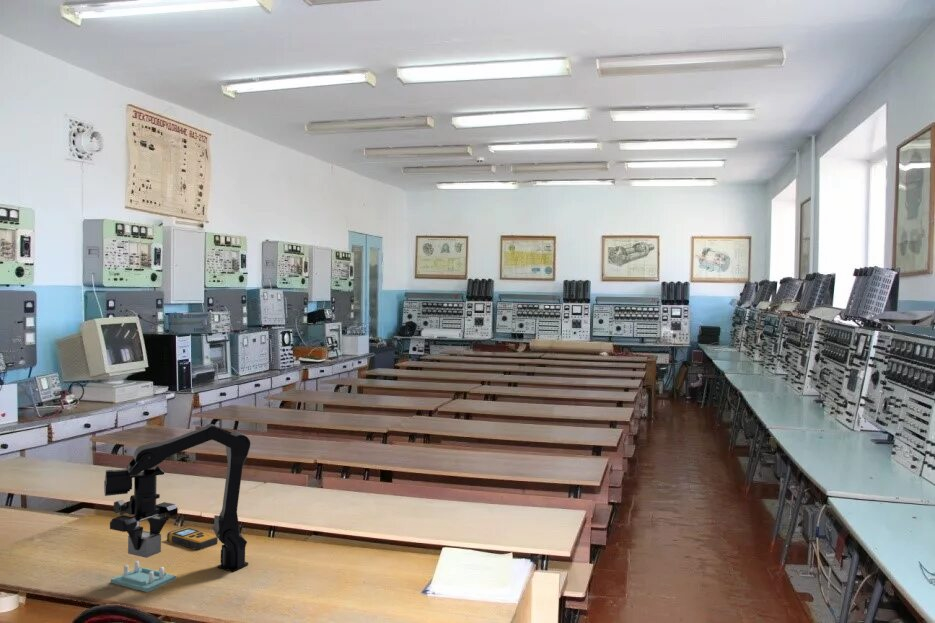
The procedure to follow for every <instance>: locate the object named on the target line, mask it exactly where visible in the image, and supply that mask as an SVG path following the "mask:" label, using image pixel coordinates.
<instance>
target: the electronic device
mask: <svg viewBox="0 0 935 623" xmlns="http://www.w3.org/2000/svg"><path fill="white" fill-rule="evenodd" d="M166 537H167V538H166V539H167V541H168V542H171V543H173V544H177V545H180V546H183V547H186V548H189V547H190V549H192V548H194V549H193V550H197V551H199V550H200V549H201V550H204V549H206V548H209V547H212V546H216V545H217V544H218V540H219V539H218V537H217V536H216V534H211V533H209V532H206V531H205V532H204V531H201V530H197V529H193V528H190V527H181V528H178V529H175V530H172V531H169V532H167V535H166Z"/></svg>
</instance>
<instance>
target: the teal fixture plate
mask: <svg viewBox="0 0 935 623" xmlns="http://www.w3.org/2000/svg"><path fill="white" fill-rule="evenodd" d="M133 566H134V567H133V568H134V569H132V570H129V568H130V567H129V565H128V564H124V565H123V573H122V574H119V575H117V576H115V577H113V578H110V583H111V584H115V585H118V586H122V587H126V588H130V589H133V590H137V591H142V592H144V593H145V592H146V593H149V592H151V591H153V590H156V589H158V588H160V587H163V586H165V585H167V584H169V583H172V582H174V581H177V575H174V574H170V573H167V572H165V567H164V566H160V567H159V570H157V569H152V568H148V567H145V566H144V567H141V566H140V561H139V560H136V561H134V565H133Z"/></svg>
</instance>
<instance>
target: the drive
mask: <svg viewBox="0 0 935 623" xmlns="http://www.w3.org/2000/svg"><path fill="white" fill-rule="evenodd" d="M127 541H128V542H127V547H128V548H127V553H128V555H133V556H137V557H141V558H146V559H147V558H149V557H152V556H154V555H156V554H159V553H162V534H161V533H160V534H157V533H152V532H150V531H147V530H143V532H142V537H141V543H140V547H139V550H135V549H134V546H133V544H132V541H131V539H130V536H129V535H128V537H127Z"/></svg>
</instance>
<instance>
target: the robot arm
mask: <svg viewBox="0 0 935 623" xmlns="http://www.w3.org/2000/svg"><path fill="white" fill-rule="evenodd" d="M209 441H214V442H217V443H219V444H221V445H223V446H225V453H226V460H227V467H226V476H225V485H224V491H223V500H222V507H221V511H220V513H219V515H216V514H215V515H214V516H213V519H214V520H213V521H214V523H213V526H212V530H213V531H214V535H215V536H217V537H218V540H219V541H220V543H221V544H222V545H221V549H220V564H219V565H217V566H216V568H217V569H222V570H227V571H231V572H235V571H238V570H240V569H242V568H244V567H246V566H248V565H249V562H247V561H246V547H247V543H248V541H247V540H246V538H244V536H243V535H242V534H241V533H240V523H239V518H238V517H239V516H238V505H239V498H240V490H241V482H242V473H243V465H244V464H245V461H246V459H247V457H248V454H249V451H250V448H251V440H250V439H249V437H248V436H247V435H245V434H244V433H242V432H240V431H233V432H231V431H229V430H227V429H224V428H221V427H219V426H217V425H216V424H213V423H209V424H206V425H205V426H203V427H201V428H198V429H195V430H193V431H192V430H191V431H190V432H187V433H185V434H182V435H179V436H176V437H174V438H172V439H168V440H165V441H161V442H152V443H147V444H143V445H140V446H138V447H137V448H136V449H135V450H134V452H133V457H132V458H131V460H130V462H128V464H127V465H126V466H125V468H123V469H106V470H105V476H104V482H103V489H104V490H103V493H104V496H105V497H108V496H116V495H118V496H119V495H127V494H128V493H129V492H131V490H133V494H132V495H130V497H129V501H126V502H125V501H124V500H123V499H120V500H117V501H114V502H113V512H114V513H115V514H119V516H116V517H114V518H112V519H111V520H110V522H109V529H110V530H113V531H118V532H122V533H123V532H124V533H127V534H128V536H130V539H131V541H132V544H133V546H134V549H135V550H139V547H140V543H141V537H142V532H143V531H144V526H140V523H141V522H143V521H146V520H147V522H148V524H149V532H152V533H157V534H161V531H162V530H163V528H164V526H165V524H166V523H167V522H168V521H169V520H170V517H172V516H176V515H178V513H179V512H178V510H179V508H178V506H177V505H176V504H175V503H171V502H166V501H164V502H160V503H157V499H160V496H161V495H160V493H157V486H158V485H157V481H158V480H157V476H163V475H165V471H164V470H163V469H162V468H160V466H159V464H161V463H163V462H164V461H166V460H167V459H168V458H170V457H171V456H173V455H176V454H179V453H181V452H183V451H186V450H189V449H191V448H194V447H197V446H199V445H201V444H204V443H206V442H209ZM133 482H134V484H133ZM124 514H128V515H129V516H128V515H124ZM130 515H131V516H130ZM132 515H133V516H132ZM166 515H167V516H169V517H167V516H166Z"/></svg>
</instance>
